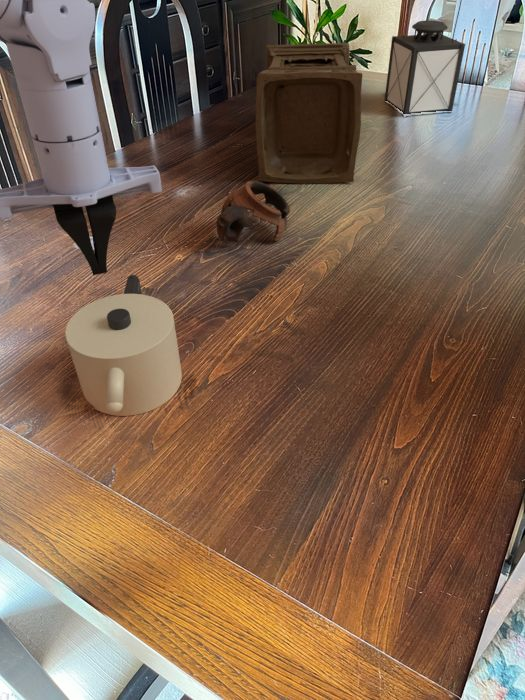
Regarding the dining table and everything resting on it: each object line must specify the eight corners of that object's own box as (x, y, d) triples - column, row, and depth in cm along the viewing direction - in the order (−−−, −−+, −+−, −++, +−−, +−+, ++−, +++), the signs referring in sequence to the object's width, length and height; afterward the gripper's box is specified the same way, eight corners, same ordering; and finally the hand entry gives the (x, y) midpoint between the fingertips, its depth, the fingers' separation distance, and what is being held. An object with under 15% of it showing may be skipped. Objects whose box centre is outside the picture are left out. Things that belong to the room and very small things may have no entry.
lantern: (452, 113, 119) (484, -46, 101) (404, 117, 118) (428, -44, 99) (428, 98, 128) (454, -52, 110) (383, 102, 126) (402, -50, 108)
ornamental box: (269, 129, 121) (256, 34, 110) (351, 118, 118) (346, 19, 107) (260, 193, 94) (241, 75, 82) (366, 181, 91) (362, 58, 80)
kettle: (176, 438, 49) (164, 371, 43) (66, 444, 48) (41, 376, 43) (186, 323, 61) (178, 260, 56) (99, 327, 61) (83, 264, 56)
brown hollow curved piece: (231, 216, 85) (258, 171, 80) (277, 256, 84) (307, 212, 79) (187, 230, 75) (214, 180, 70) (238, 276, 74) (269, 227, 69)
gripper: (-26, 160, 42) (25, 306, 51) (161, 134, 46) (179, 273, 55) (-25, 131, 47) (21, 268, 56) (143, 110, 51) (162, 241, 60)
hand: (98, 269), depth 56 cm, fingers closed
